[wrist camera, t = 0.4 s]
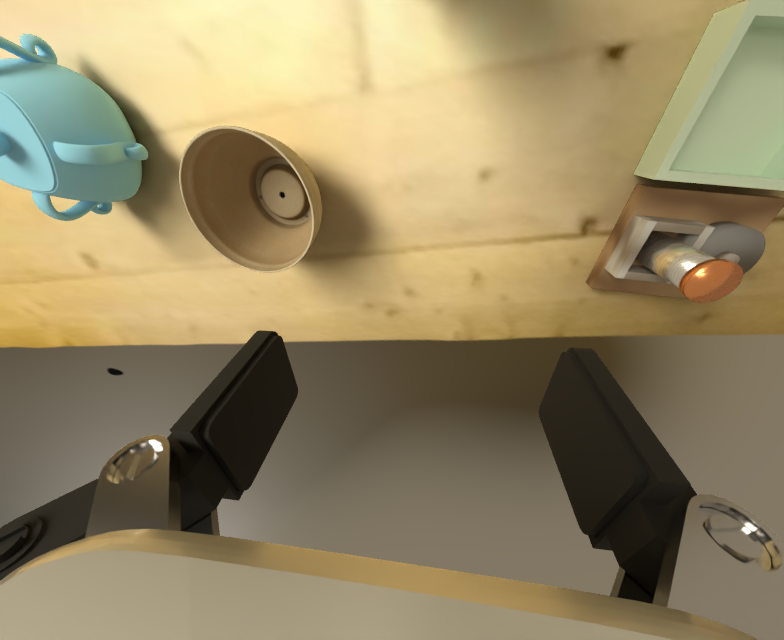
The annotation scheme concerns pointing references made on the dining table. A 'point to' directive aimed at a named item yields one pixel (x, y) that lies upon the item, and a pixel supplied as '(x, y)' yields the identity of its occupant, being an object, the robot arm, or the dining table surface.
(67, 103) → the decorative pot
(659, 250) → the jar with copper lid
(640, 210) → the wooden stand
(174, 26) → the dining table surface
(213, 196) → the planter bowl
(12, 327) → the dining table surface
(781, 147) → the tray
